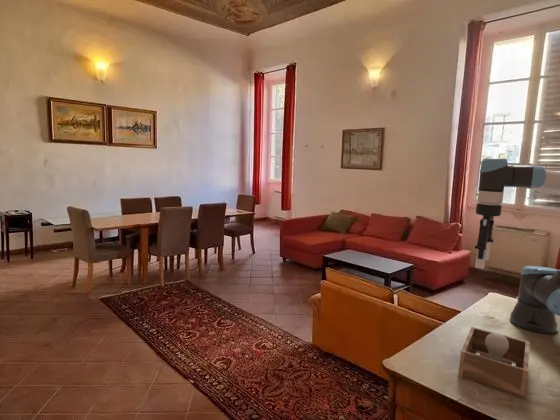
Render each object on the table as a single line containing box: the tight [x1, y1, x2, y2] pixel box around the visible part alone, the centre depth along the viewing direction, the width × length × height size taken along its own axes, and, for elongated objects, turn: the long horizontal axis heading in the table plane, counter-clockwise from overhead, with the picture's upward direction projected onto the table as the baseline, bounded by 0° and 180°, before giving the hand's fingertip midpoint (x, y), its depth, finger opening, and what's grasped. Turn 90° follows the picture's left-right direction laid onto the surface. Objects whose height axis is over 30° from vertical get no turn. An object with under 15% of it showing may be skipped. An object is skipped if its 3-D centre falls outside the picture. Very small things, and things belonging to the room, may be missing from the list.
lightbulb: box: [485, 332, 509, 362], centre depth 109 cm, size 6×6×11 cm
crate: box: [457, 326, 531, 399], centre depth 109 cm, size 20×16×8 cm
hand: (482, 263), depth 128 cm, fingers open, 13 cm apart
